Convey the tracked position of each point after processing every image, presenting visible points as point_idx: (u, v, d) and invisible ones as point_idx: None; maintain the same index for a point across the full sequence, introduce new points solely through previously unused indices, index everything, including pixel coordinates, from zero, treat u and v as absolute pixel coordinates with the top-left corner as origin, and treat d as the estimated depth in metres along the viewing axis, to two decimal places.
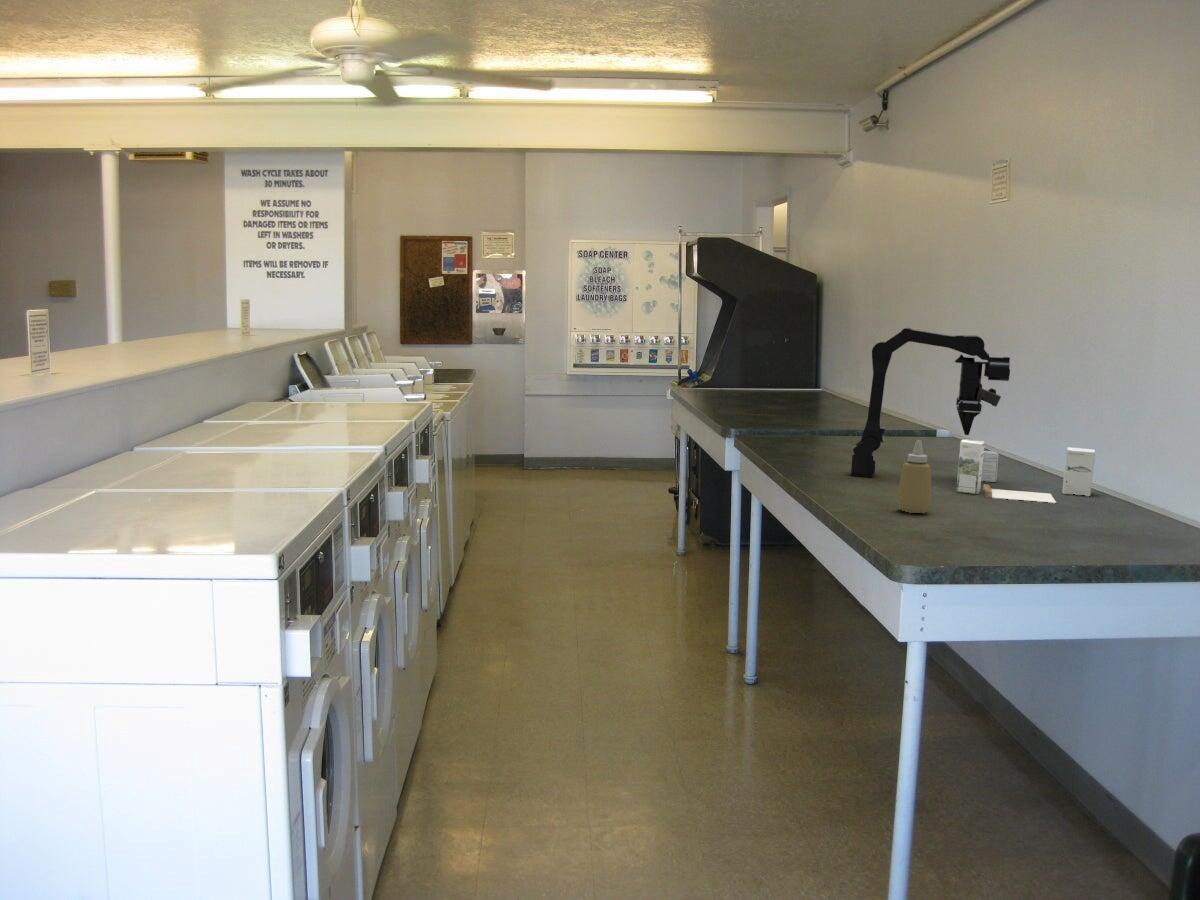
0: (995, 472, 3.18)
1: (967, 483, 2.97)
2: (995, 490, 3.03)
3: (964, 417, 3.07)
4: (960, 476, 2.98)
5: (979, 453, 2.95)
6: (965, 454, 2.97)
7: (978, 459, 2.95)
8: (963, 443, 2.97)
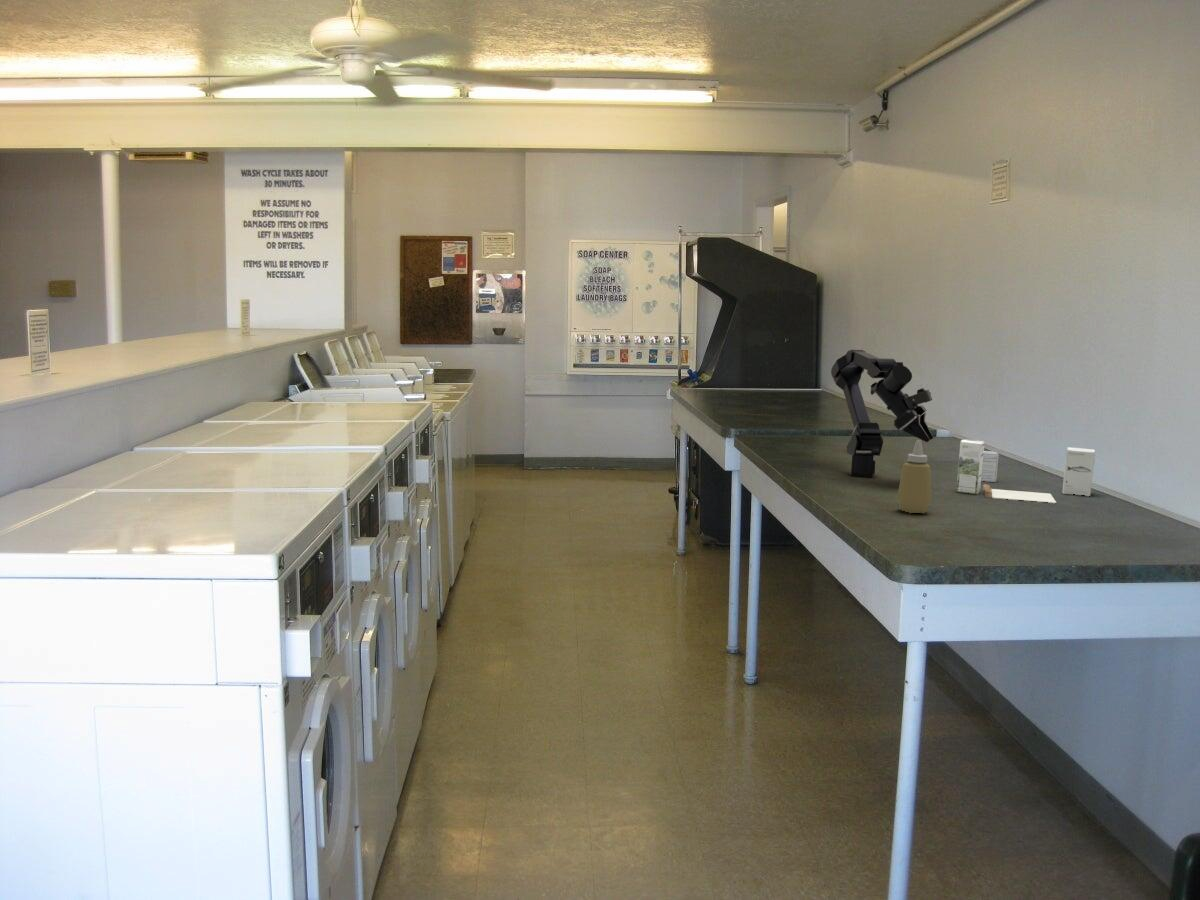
0: (995, 472, 3.18)
1: (967, 483, 2.97)
2: (995, 490, 3.03)
3: (912, 430, 3.01)
4: (960, 476, 2.98)
5: (979, 453, 2.95)
6: (965, 454, 2.97)
7: (978, 459, 2.95)
8: (963, 443, 2.97)
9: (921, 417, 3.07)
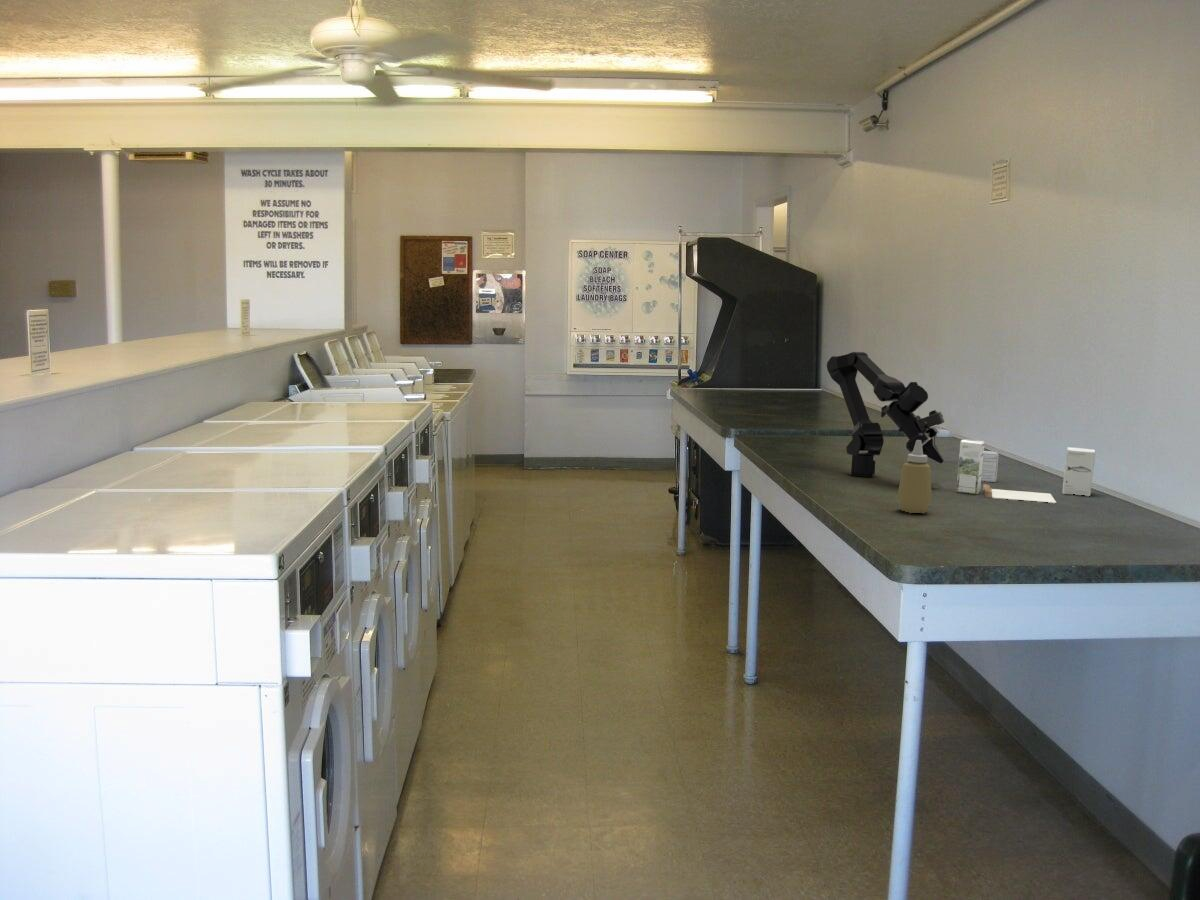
0: (995, 472, 3.18)
1: (967, 483, 2.97)
2: (995, 490, 3.03)
3: (926, 451, 3.02)
4: (960, 476, 2.98)
5: (979, 453, 2.95)
6: (965, 454, 2.97)
7: (978, 459, 2.95)
8: (963, 443, 2.97)
9: None
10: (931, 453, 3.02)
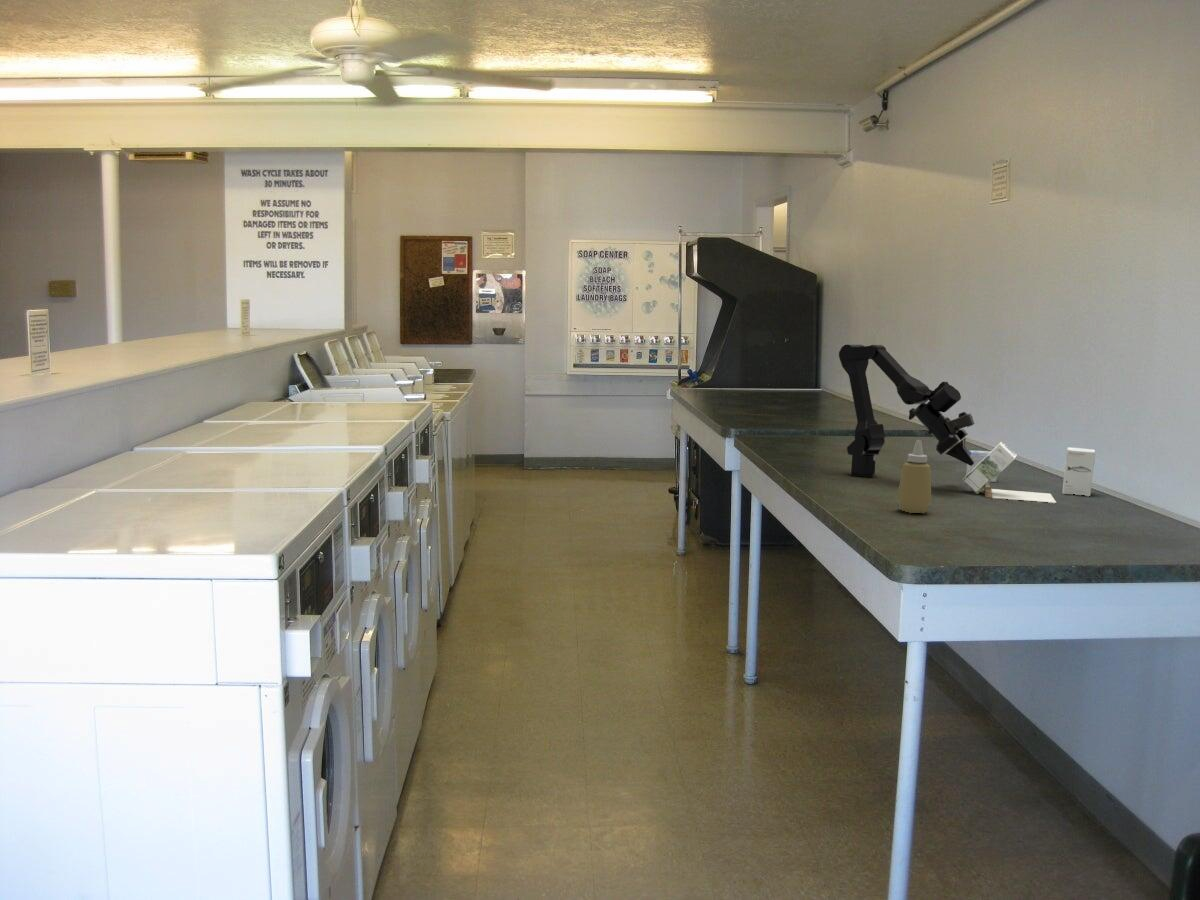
0: None
1: (977, 480, 2.96)
2: (995, 490, 3.03)
3: (956, 453, 2.99)
4: (975, 470, 2.96)
5: (1006, 464, 2.92)
6: (994, 457, 2.93)
7: (1001, 468, 2.93)
8: (1000, 447, 2.92)
9: None
10: (961, 455, 2.99)
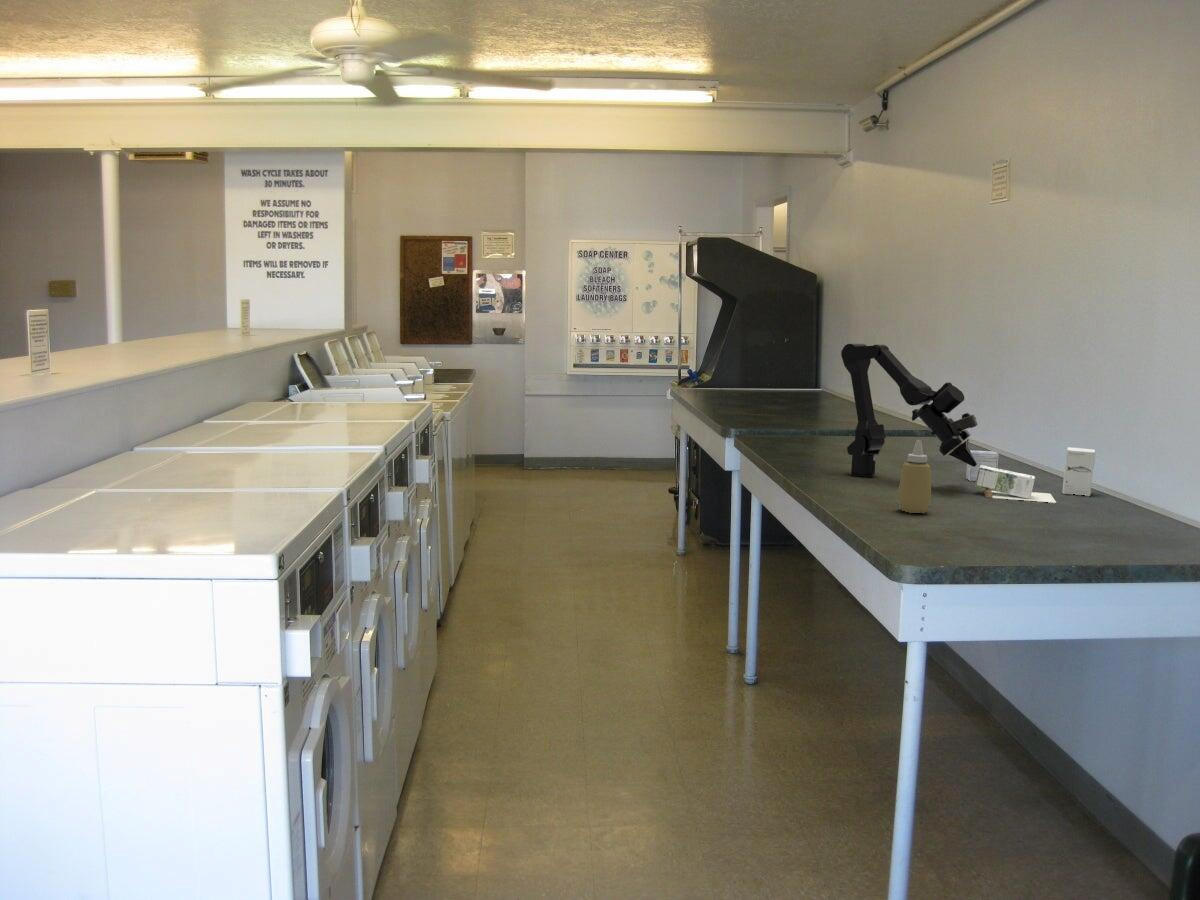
0: None
1: (987, 479, 2.95)
2: None
3: (959, 454, 2.99)
4: (996, 473, 2.94)
5: (1018, 495, 2.92)
6: (1018, 481, 2.92)
7: (1012, 493, 2.93)
8: (1031, 481, 2.90)
9: None
10: (964, 456, 2.98)
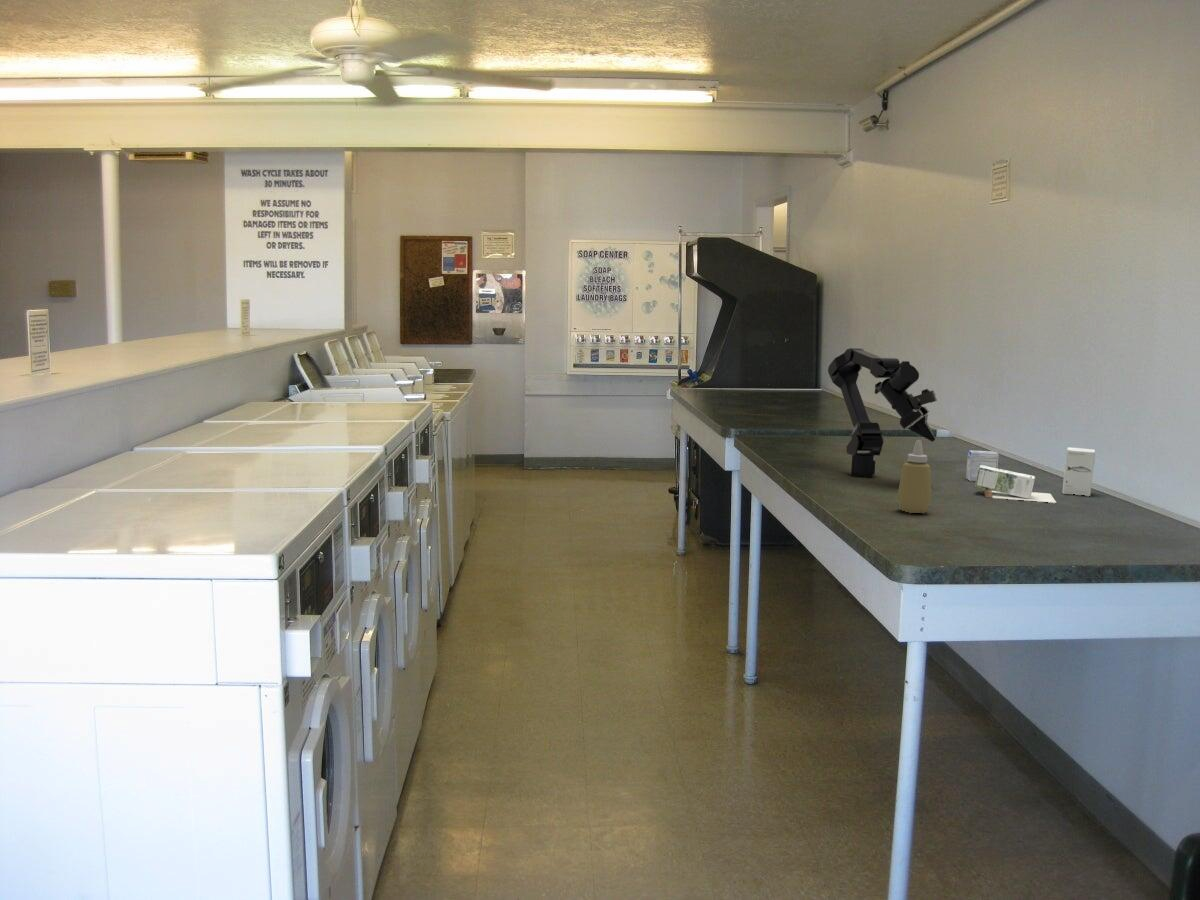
0: None
1: (987, 479, 2.95)
2: None
3: (918, 429, 3.03)
4: (996, 473, 2.94)
5: (1018, 495, 2.92)
6: (1018, 481, 2.92)
7: (1012, 493, 2.93)
8: (1031, 481, 2.90)
9: None
10: (923, 431, 3.03)
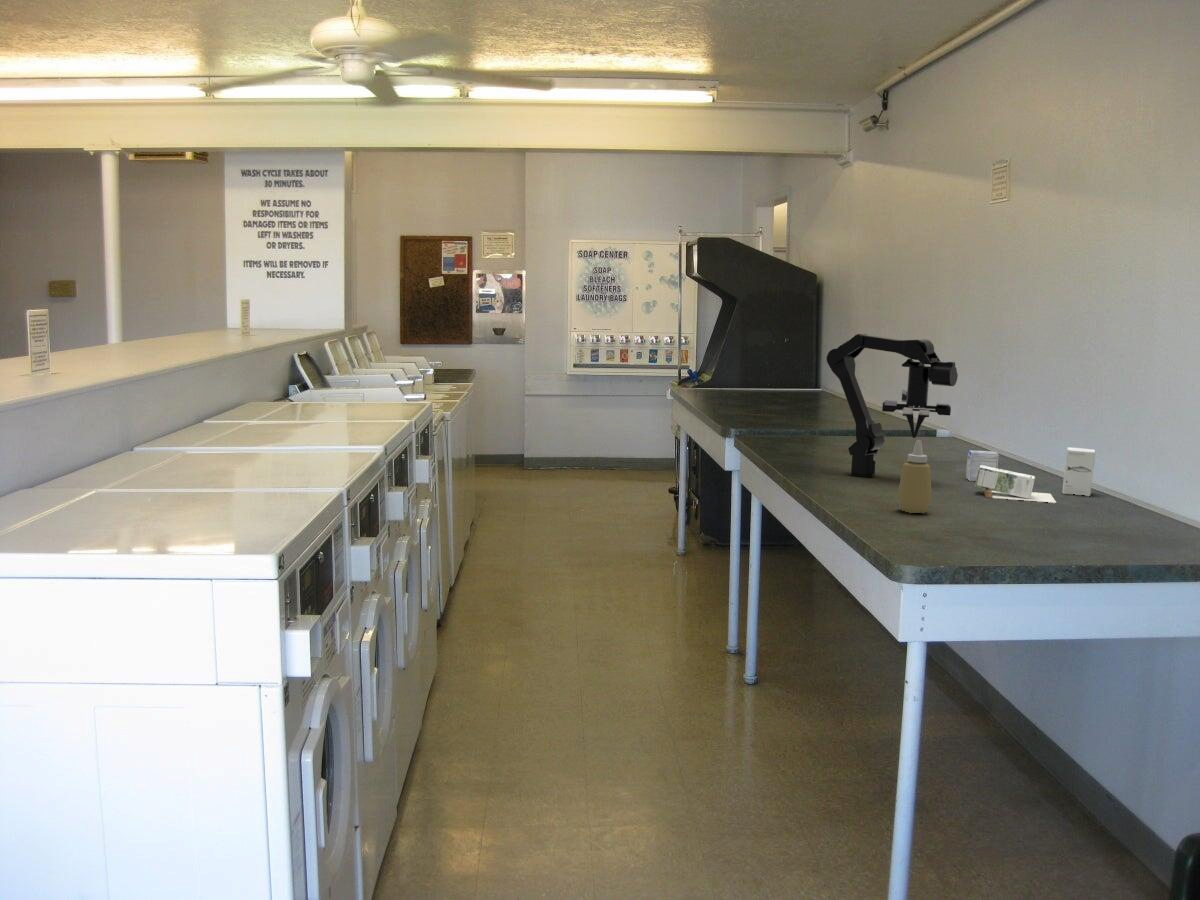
0: None
1: (987, 479, 2.95)
2: None
3: None
4: (996, 473, 2.94)
5: (1018, 495, 2.92)
6: (1018, 481, 2.92)
7: (1012, 493, 2.93)
8: (1031, 481, 2.90)
9: None
10: None
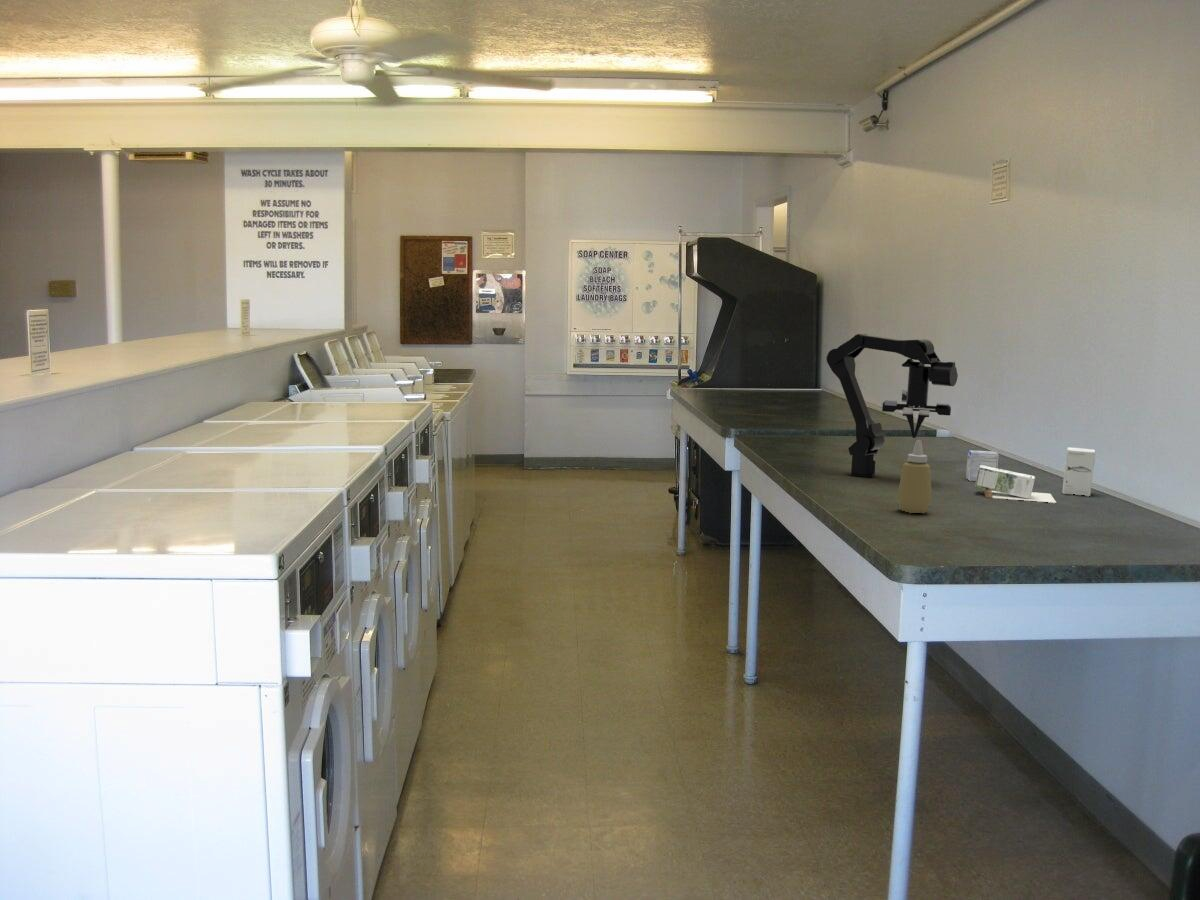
0: None
1: (987, 479, 2.95)
2: None
3: None
4: (996, 473, 2.94)
5: (1018, 495, 2.92)
6: (1018, 481, 2.92)
7: (1012, 493, 2.93)
8: (1031, 481, 2.90)
9: None
10: None
